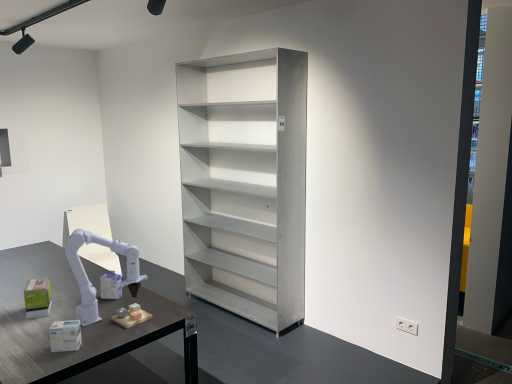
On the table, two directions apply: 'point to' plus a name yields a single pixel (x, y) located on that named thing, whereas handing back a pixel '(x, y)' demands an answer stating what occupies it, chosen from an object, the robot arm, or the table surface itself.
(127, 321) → the button board
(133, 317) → the tile one
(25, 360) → the table surface
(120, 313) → the tile three
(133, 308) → the tile two
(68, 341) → the light bulb box
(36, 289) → the tea box
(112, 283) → the ink cartridge box
